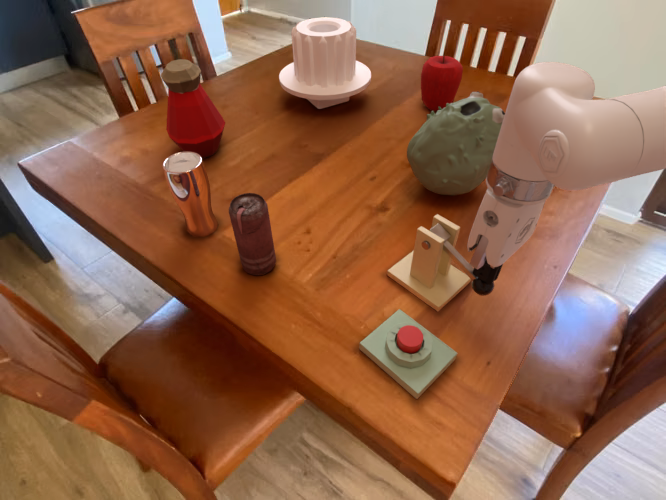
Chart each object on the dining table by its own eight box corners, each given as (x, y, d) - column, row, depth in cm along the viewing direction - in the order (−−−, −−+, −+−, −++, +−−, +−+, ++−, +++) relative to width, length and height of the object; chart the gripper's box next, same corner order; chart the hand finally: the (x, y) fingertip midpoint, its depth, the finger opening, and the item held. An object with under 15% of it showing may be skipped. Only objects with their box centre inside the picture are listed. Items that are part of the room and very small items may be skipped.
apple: (461, 114, 114) (472, 62, 105) (423, 117, 113) (431, 65, 104) (448, 96, 122) (457, 46, 112) (412, 99, 121) (419, 48, 111)
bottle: (231, 162, 100) (213, 77, 86) (171, 170, 98) (142, 84, 84) (228, 128, 111) (212, 48, 97) (175, 134, 109) (150, 53, 95)
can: (237, 275, 75) (221, 214, 65) (248, 250, 80) (234, 189, 70) (270, 279, 75) (259, 218, 65) (280, 253, 79) (271, 192, 69)
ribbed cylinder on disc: (306, 129, 110) (301, 53, 97) (267, 91, 126) (258, 21, 112) (387, 105, 118) (393, 31, 105) (341, 72, 134) (341, 5, 120)
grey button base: (455, 359, 63) (460, 346, 61) (416, 399, 59) (419, 387, 56) (398, 315, 69) (400, 301, 66) (359, 349, 65) (359, 335, 62)
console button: (426, 342, 62) (428, 336, 60) (410, 358, 60) (412, 351, 59) (407, 327, 64) (408, 320, 62) (391, 342, 62) (392, 335, 61)
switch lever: (490, 291, 67) (502, 283, 64) (478, 302, 65) (490, 294, 62) (432, 230, 69) (441, 219, 67) (420, 239, 68) (428, 229, 65)
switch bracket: (470, 282, 73) (486, 231, 65) (437, 312, 69) (451, 261, 61) (419, 249, 79) (428, 198, 71) (386, 275, 75) (392, 224, 67)
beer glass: (199, 211, 88) (179, 147, 77) (227, 221, 86) (211, 156, 75) (176, 232, 83) (152, 167, 73) (205, 243, 81) (184, 177, 71)
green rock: (390, 178, 95) (398, 90, 80) (464, 159, 99) (484, 73, 85) (426, 222, 84) (443, 130, 70) (506, 199, 89) (537, 108, 75)
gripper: (516, 220, 45) (477, 321, 59) (581, 163, 52) (533, 264, 66) (457, 188, 49) (432, 289, 62) (525, 139, 56) (490, 239, 69)
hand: (484, 276), depth 64 cm, fingers closed
